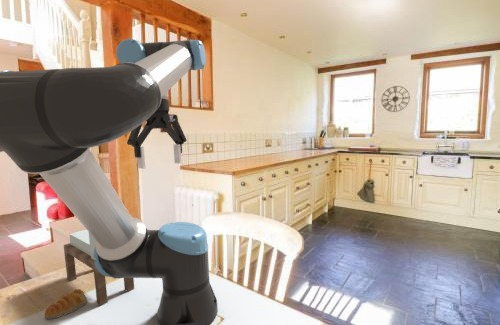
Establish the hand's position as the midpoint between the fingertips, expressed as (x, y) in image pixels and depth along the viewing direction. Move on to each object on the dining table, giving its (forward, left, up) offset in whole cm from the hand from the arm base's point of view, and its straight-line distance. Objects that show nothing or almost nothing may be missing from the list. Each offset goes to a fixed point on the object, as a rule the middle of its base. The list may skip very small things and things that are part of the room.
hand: (161, 165), depth 87 cm
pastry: (+7, +27, -37) cm, 47 cm away
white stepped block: (+12, +17, -25) cm, 32 cm away
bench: (+13, +17, -37) cm, 42 cm away
